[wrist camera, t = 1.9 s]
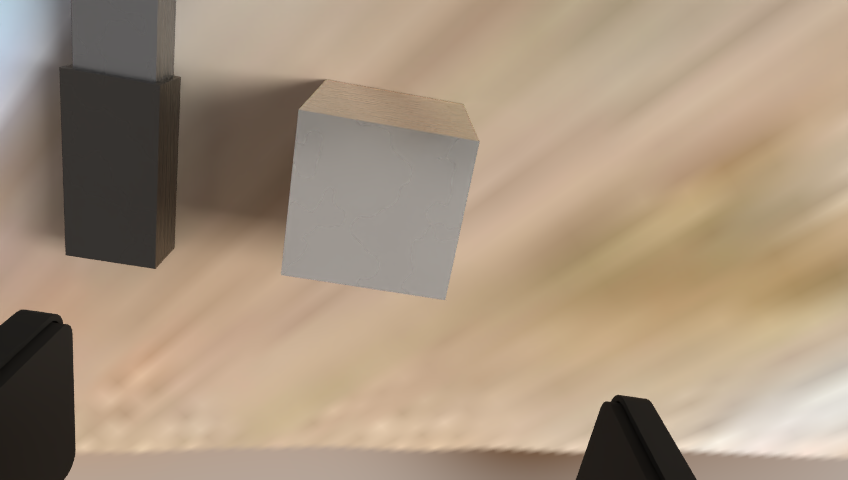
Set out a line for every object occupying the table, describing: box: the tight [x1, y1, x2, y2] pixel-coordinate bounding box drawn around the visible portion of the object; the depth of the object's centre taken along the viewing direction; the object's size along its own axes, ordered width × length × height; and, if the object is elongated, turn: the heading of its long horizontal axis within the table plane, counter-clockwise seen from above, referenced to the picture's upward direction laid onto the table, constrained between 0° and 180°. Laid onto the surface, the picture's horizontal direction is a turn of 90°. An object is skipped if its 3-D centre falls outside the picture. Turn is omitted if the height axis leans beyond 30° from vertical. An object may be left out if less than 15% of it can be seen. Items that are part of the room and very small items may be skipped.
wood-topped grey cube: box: [281, 80, 479, 300], centre depth 25 cm, size 6×6×7 cm
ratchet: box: [60, 0, 181, 269], centre depth 23 cm, size 21×8×6 cm, turn 170°
